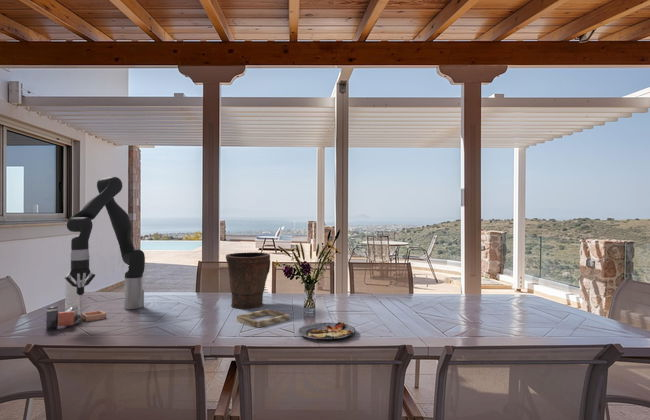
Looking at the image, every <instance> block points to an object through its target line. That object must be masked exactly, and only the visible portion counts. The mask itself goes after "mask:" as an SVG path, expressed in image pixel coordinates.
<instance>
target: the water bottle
mask: <svg viewBox="0 0 650 420" xmlns="http://www.w3.org/2000/svg"><path fill="white" fill-rule="evenodd" d="M70 271H71V267H70V269H69V272H68V273H67V274H66V276H65V277H67V276H68V275H69V274H70ZM71 278H72V279H71V280H72V281H73V282H74V283H75V284H76V282H75V280H74V279H73V277H72V276H71ZM64 280H65V291H64V292H65V293H64V294H65V295H64V296H65V298H64V300H65V301H64V302H65V304H64V307H65V308H64V312H65V311H66V308H68V307H78V317H79V316H81V310H80V309H81V295H78V294H77V288H76V287H73V286H72V285H71V284H70V283H69V282H68V281H67V280H66V279H65V278H64Z"/></svg>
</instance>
